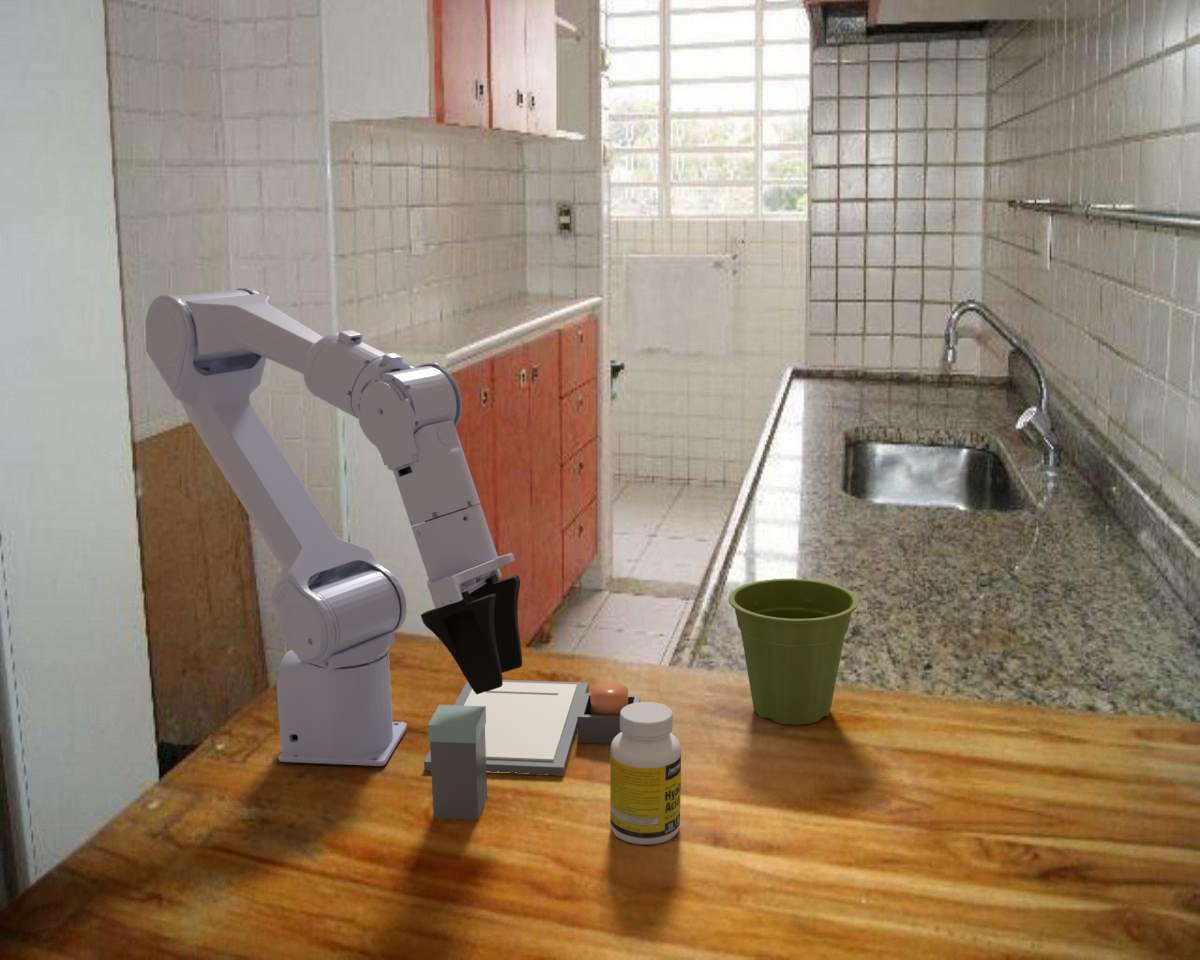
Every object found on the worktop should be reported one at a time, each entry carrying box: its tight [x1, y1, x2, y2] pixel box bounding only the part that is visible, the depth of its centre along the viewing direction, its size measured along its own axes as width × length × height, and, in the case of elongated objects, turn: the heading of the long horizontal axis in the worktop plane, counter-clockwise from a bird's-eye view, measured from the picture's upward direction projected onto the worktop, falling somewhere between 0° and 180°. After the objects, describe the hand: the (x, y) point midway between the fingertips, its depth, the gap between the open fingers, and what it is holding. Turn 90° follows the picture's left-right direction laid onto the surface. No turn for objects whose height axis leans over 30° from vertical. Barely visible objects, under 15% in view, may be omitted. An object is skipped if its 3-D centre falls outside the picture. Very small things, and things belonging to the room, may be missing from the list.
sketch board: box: [423, 679, 589, 777], centre depth 113 cm, size 12×18×1 cm, turn 174°
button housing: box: [577, 692, 641, 745], centre depth 112 cm, size 5×5×2 cm
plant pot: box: [728, 578, 860, 726], centre depth 115 cm, size 12×12×11 cm
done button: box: [590, 682, 629, 716], centre depth 111 cm, size 3×3×2 cm
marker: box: [427, 704, 488, 821], centre depth 98 cm, size 4×4×8 cm
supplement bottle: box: [609, 701, 682, 846], centre depth 94 cm, size 5×5×10 cm
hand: (500, 679), depth 97 cm, fingers open, 7 cm apart
